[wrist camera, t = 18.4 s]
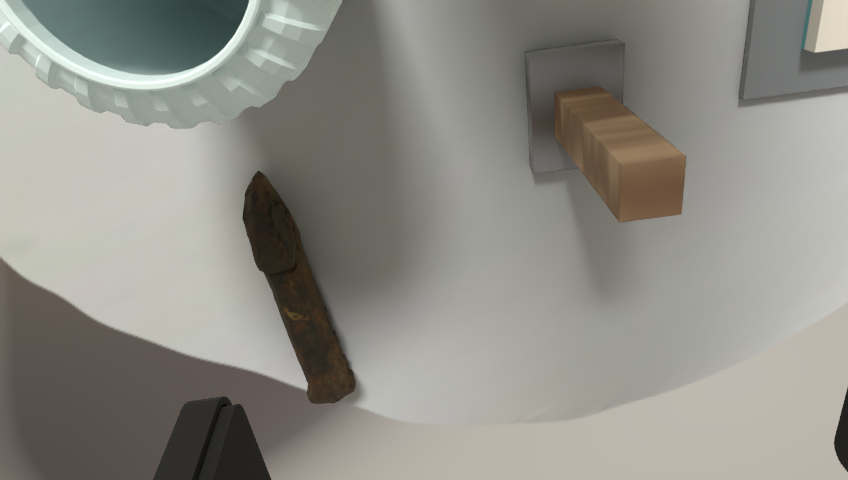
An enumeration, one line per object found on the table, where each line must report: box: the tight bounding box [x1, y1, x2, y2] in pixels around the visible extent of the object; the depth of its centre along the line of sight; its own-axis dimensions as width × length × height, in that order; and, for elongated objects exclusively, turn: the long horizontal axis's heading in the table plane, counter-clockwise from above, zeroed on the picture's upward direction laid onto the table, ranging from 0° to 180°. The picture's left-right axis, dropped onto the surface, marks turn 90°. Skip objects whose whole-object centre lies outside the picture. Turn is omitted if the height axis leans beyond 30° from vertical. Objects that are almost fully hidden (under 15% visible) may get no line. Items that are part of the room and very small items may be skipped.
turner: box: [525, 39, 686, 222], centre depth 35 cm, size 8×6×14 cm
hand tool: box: [243, 171, 356, 404], centre depth 45 cm, size 19×4×5 cm, turn 10°
